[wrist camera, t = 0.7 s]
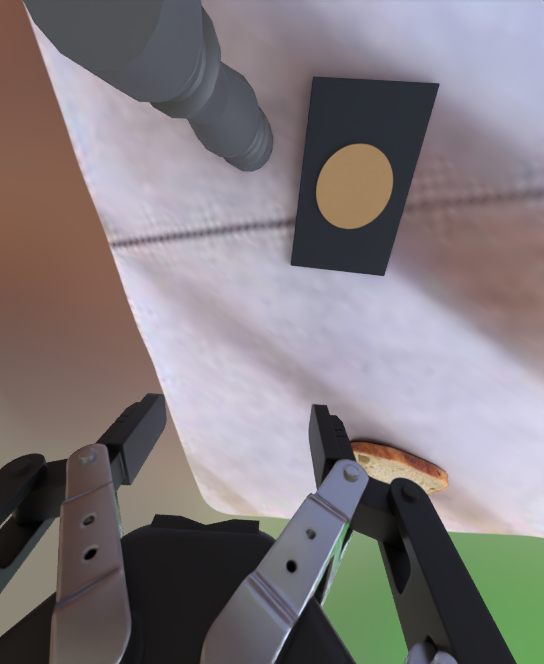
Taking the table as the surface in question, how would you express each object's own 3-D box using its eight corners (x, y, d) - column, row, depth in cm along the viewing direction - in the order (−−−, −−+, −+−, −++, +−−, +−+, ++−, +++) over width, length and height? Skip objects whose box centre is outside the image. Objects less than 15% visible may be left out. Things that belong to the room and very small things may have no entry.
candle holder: (213, 148, 31) (-23, -9, 9) (241, 95, 29) (7, -311, 6) (253, 183, 32) (130, 121, 10) (283, 135, 30) (209, -92, 7)
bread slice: (450, 482, 51) (460, 502, 48) (362, 497, 56) (366, 515, 53) (428, 420, 45) (437, 437, 42) (332, 443, 50) (334, 460, 47)
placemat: (313, 78, 27) (313, 75, 27) (437, 85, 26) (440, 82, 26) (291, 264, 36) (290, 265, 35) (383, 275, 35) (384, 276, 34)
